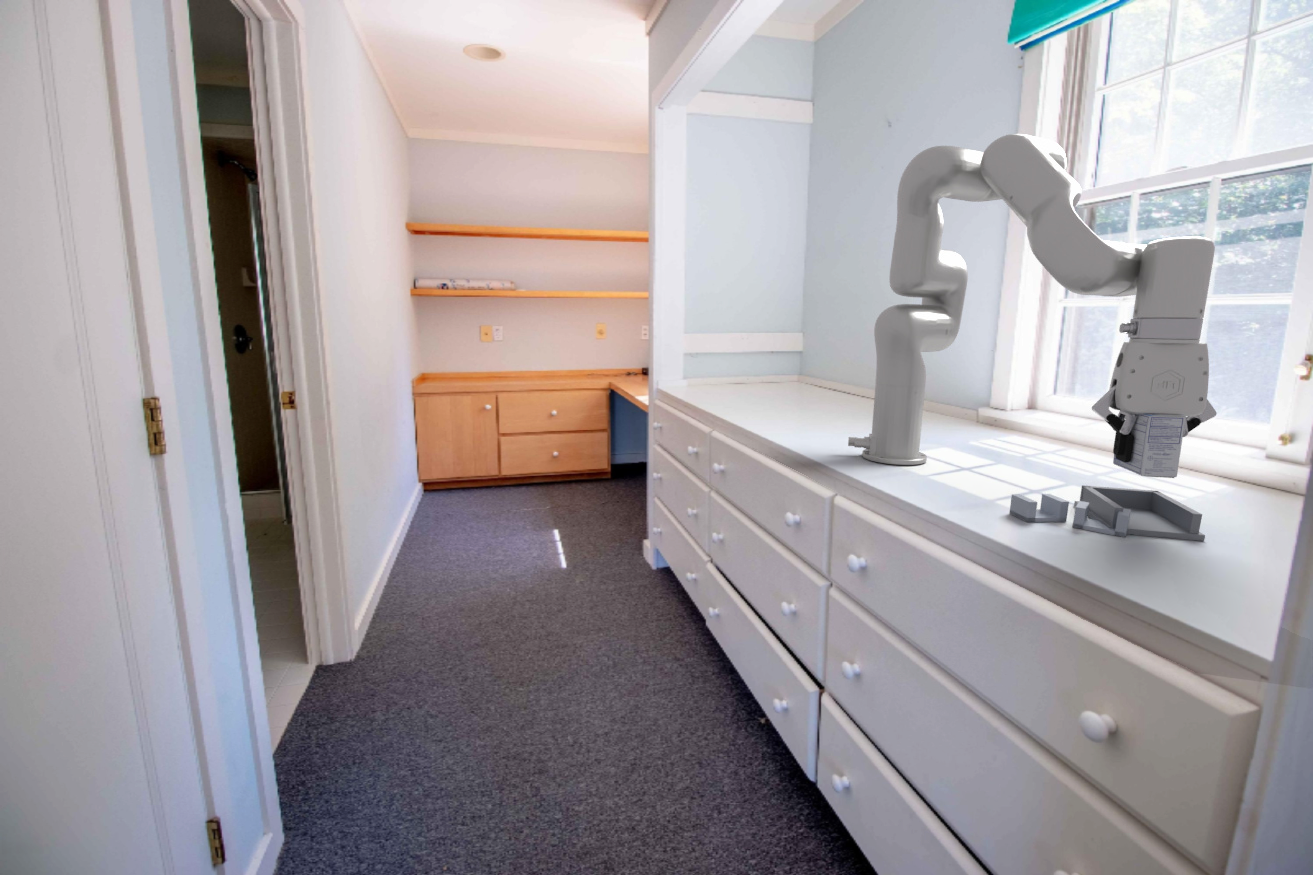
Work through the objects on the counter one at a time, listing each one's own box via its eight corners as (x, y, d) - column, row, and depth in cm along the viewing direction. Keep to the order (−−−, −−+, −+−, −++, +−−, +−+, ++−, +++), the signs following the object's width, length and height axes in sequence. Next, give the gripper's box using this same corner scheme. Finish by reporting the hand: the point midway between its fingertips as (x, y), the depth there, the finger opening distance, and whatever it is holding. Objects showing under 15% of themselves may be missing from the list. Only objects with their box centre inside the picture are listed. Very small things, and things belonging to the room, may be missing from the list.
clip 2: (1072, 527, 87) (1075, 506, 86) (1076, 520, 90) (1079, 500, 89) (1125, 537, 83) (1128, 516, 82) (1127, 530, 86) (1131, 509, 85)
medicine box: (1177, 478, 84) (1188, 416, 82) (1140, 477, 85) (1150, 414, 83) (1145, 466, 91) (1154, 408, 90) (1111, 464, 92) (1119, 407, 91)
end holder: (1108, 532, 85) (1112, 508, 84) (1074, 505, 97) (1077, 484, 97) (1204, 541, 82) (1208, 515, 81) (1156, 512, 94) (1159, 490, 94)
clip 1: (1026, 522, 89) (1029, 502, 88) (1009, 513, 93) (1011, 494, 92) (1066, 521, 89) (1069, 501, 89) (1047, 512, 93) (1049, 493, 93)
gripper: (1104, 331, 83) (1086, 463, 87) (1258, 333, 79) (1232, 472, 82) (1083, 331, 90) (1067, 452, 94) (1223, 332, 86) (1200, 460, 89)
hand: (1144, 460), depth 88 cm, fingers closed on medicine box, 4 cm apart
